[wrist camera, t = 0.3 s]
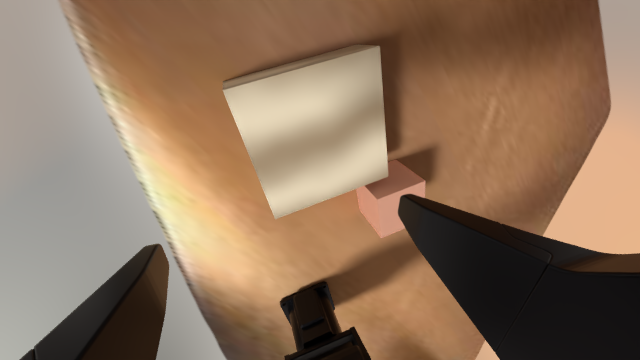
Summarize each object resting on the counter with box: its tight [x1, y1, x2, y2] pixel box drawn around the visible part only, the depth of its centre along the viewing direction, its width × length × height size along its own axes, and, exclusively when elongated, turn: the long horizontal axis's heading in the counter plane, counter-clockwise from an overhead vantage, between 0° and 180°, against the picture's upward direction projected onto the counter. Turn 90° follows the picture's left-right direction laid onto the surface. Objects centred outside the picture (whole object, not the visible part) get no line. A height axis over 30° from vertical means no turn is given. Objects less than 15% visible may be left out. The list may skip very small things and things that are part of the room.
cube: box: [356, 159, 425, 238], centre depth 26 cm, size 5×5×5 cm
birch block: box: [223, 44, 388, 219], centre depth 21 cm, size 11×11×4 cm
